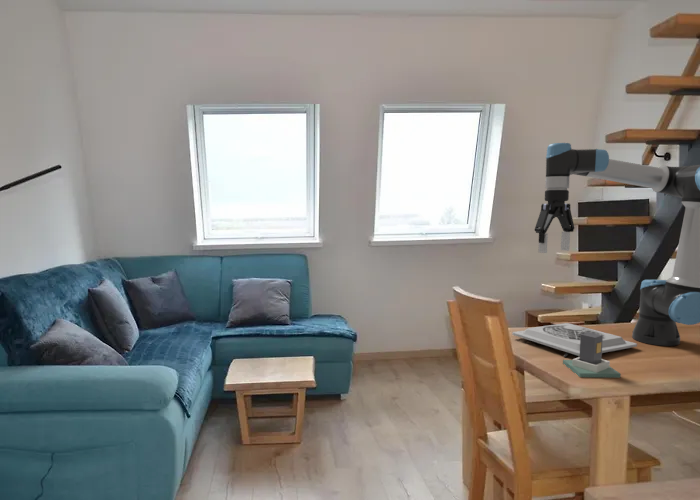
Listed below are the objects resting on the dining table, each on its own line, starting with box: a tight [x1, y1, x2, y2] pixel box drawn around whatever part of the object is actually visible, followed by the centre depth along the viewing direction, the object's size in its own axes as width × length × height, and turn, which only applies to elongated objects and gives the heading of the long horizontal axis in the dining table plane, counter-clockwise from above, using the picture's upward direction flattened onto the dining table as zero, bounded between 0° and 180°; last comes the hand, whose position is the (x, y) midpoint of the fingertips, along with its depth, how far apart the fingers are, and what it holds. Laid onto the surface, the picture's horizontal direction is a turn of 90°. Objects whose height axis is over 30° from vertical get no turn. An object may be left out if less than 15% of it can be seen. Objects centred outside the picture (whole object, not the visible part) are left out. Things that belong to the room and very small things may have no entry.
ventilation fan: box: [512, 322, 638, 357], centre depth 175 cm, size 30×6×30 cm
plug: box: [579, 332, 603, 365], centre depth 148 cm, size 4×5×10 cm
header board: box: [562, 356, 622, 379], centre depth 148 cm, size 12×12×3 cm
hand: (554, 251), depth 166 cm, fingers open, 13 cm apart
